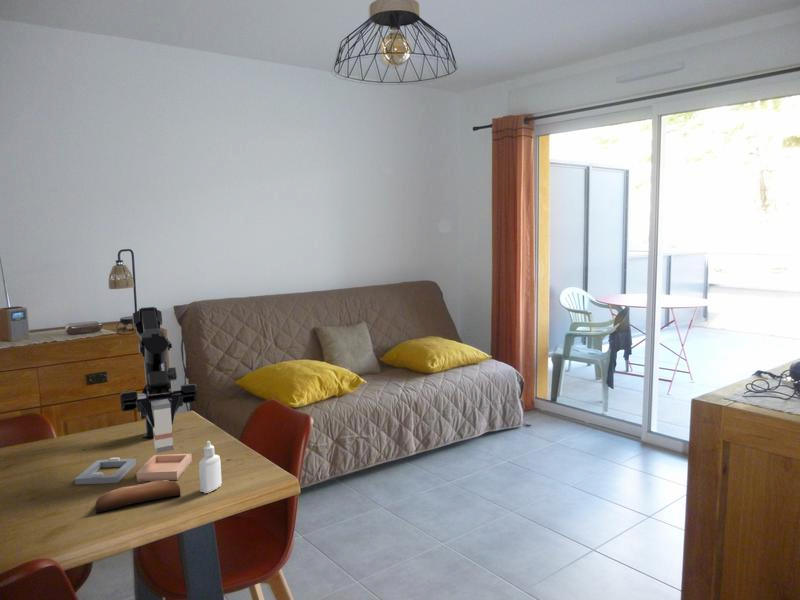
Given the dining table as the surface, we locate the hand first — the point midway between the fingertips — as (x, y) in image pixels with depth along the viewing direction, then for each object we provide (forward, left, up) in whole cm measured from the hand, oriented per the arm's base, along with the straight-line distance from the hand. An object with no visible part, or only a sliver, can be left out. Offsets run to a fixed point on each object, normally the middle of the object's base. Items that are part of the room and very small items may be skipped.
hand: (162, 425), depth 151 cm
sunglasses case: (+15, -1, -14) cm, 20 cm away
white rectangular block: (-1, -1, -7) cm, 7 cm away
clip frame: (-1, -15, -13) cm, 20 cm away
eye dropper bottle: (+11, +14, -13) cm, 22 cm away
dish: (-1, 0, -13) cm, 13 cm away
